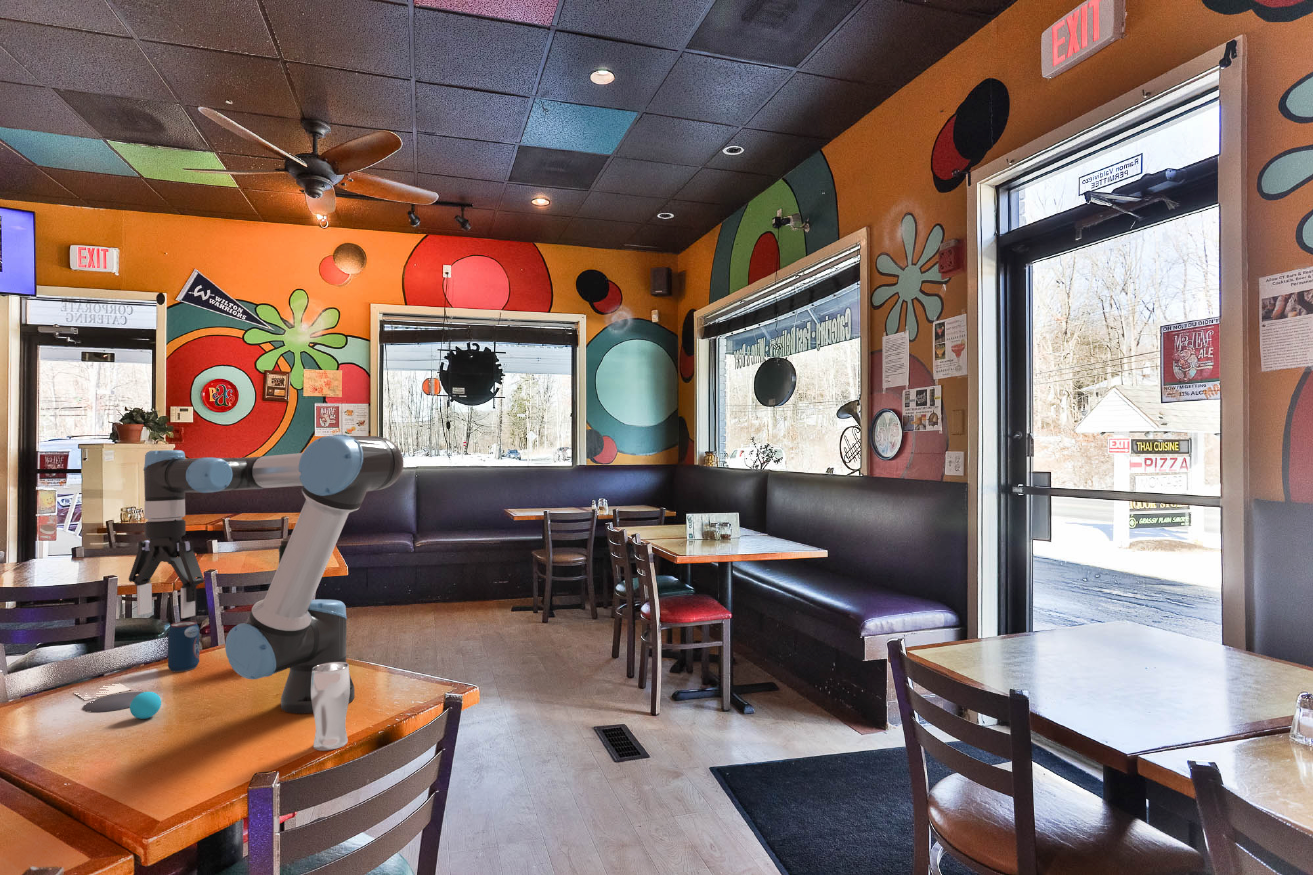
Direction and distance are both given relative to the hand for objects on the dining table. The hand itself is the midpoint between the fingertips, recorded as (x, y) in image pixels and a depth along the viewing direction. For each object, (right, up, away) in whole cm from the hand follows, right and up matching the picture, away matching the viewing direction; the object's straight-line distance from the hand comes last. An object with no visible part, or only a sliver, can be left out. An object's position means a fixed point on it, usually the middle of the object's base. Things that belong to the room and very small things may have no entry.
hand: (166, 615), depth 159 cm
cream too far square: (-24, -22, +13) cm, 35 cm away
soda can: (-16, -22, +31) cm, 41 cm away
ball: (-1, -18, -5) cm, 19 cm away
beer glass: (+46, -20, -20) cm, 54 cm away
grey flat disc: (-14, -21, +5) cm, 26 cm away
